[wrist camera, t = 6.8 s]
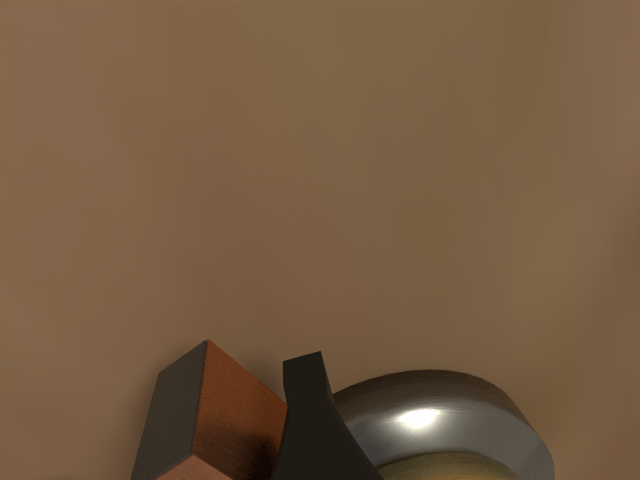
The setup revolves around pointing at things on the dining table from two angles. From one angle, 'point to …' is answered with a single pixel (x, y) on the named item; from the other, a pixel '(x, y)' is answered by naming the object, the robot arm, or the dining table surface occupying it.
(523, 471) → the rounded grey metal base
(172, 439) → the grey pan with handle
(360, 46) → the dining table surface
